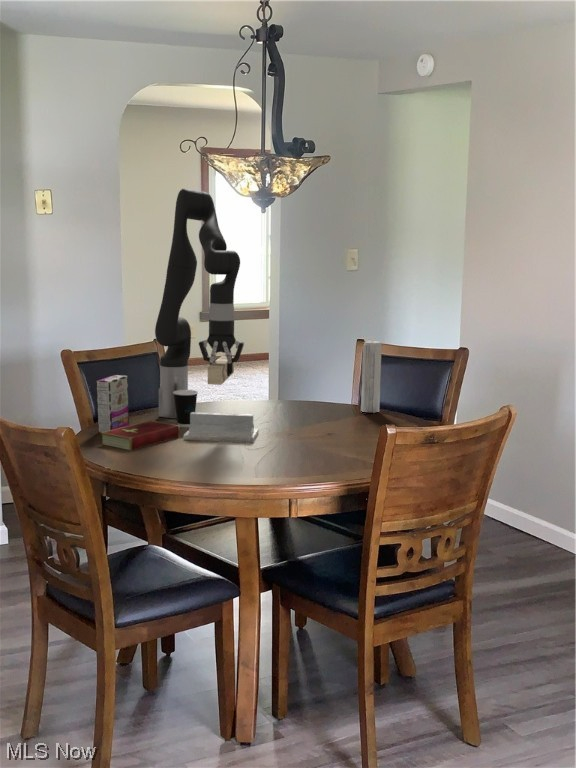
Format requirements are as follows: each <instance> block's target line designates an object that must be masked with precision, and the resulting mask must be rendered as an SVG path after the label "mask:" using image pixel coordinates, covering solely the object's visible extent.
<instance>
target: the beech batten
mask: <svg viewBox="0 0 576 768" xmlns="http://www.w3.org/2000/svg"><path fill="white" fill-rule="evenodd" d="M234 357H235V356H232V358H234ZM227 364H228V361H227V357H226V355H222V356H220V357H219V358H217V359H215V362H213V363H212V364H211V365H210V364H209V365H208V366H207V385H218V386H221V385H223V384H224V383H225V382H226V381H227V380H228V379H229V378H230V377H231V376H232V375H233V374H234V373H235V362H233V372H232V374H230V376H227Z"/></svg>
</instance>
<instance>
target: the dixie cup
mask: <svg viewBox="0 0 576 768" xmlns="http://www.w3.org/2000/svg"><path fill="white" fill-rule="evenodd" d="M173 394H174V399H175V407H176V416H177V418H176V423H177V425H179V428H189V424H190V413H191V412H196V407H197V398H198V394H199V392H198V391H197V390H193V389H188V390H177V391H174V392H173Z"/></svg>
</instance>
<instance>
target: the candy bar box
mask: <svg viewBox="0 0 576 768" xmlns="http://www.w3.org/2000/svg"><path fill="white" fill-rule="evenodd" d="M128 380H129V379H128V375H123V374H120V375H119V374H114V375H111V376H107V377H105V378H102V379H98V380H96V402H97V421H98V422H97V423H98V426H97V427H98V429H97V430H98V432H99V433H101V432H105V431H109V430H113V429H117V428H121V427H125V426H130V414H129V411H130V410H129V382H128Z"/></svg>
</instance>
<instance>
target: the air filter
mask: <svg viewBox="0 0 576 768" xmlns="http://www.w3.org/2000/svg"><path fill="white" fill-rule="evenodd" d="M361 363H362V364H361V393H360V395H361V396H360V397H361V398H360V412H361V411H362V412H373V413H375V412H379V413H380V399H381V398H380V397H381V375H382V374H381V373H382V343H381V341H378V340H377V341H374V340H366V341H364V343H363V344H362V362H361ZM362 412H361V413H362Z"/></svg>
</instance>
